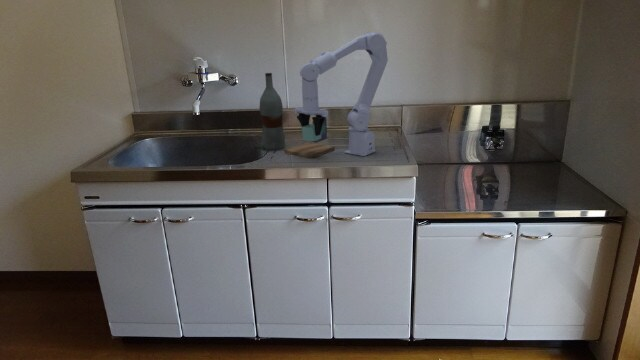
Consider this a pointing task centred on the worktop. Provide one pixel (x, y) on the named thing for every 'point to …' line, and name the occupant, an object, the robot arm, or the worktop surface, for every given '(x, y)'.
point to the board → (309, 150)
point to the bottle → (271, 117)
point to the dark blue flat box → (322, 131)
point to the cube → (309, 133)
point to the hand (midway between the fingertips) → (312, 134)
